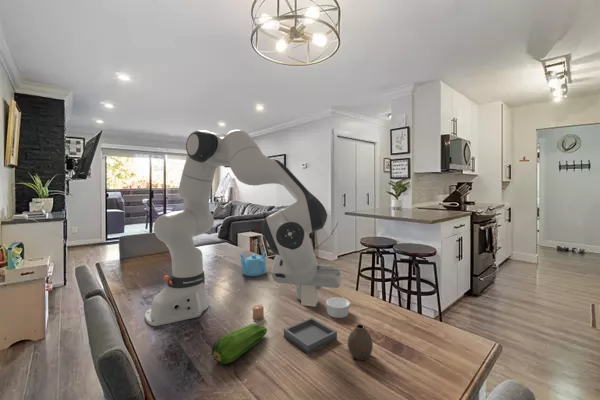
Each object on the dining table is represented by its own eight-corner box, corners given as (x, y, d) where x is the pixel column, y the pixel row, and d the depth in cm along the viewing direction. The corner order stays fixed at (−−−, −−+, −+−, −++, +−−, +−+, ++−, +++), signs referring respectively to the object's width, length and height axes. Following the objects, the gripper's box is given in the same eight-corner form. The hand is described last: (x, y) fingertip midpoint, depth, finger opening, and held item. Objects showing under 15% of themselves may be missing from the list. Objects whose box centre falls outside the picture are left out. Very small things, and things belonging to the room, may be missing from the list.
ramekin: (351, 309, 110) (351, 298, 109) (347, 320, 101) (347, 309, 101) (329, 306, 112) (328, 296, 112) (323, 317, 104) (323, 305, 104)
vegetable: (210, 336, 77) (261, 309, 93) (203, 354, 79) (254, 325, 95) (227, 356, 73) (277, 324, 89) (219, 375, 75) (269, 341, 92)
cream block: (315, 306, 87) (315, 277, 86) (301, 305, 88) (300, 276, 87) (318, 300, 91) (318, 273, 90) (304, 299, 92) (304, 271, 92)
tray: (307, 354, 82) (307, 345, 82) (283, 336, 91) (283, 329, 91) (336, 339, 89) (336, 331, 89) (311, 324, 99) (311, 317, 99)
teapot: (268, 277, 147) (268, 257, 146) (239, 279, 144) (238, 259, 143) (266, 268, 161) (266, 250, 160) (239, 270, 158) (239, 252, 157)
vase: (345, 349, 84) (345, 320, 83) (367, 348, 85) (368, 319, 84) (351, 364, 77) (351, 333, 77) (376, 363, 78) (376, 332, 77)
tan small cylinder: (256, 321, 101) (256, 310, 101) (250, 317, 104) (250, 307, 104) (265, 318, 103) (265, 307, 103) (260, 314, 106) (259, 303, 106)
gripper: (340, 258, 79) (344, 280, 89) (271, 253, 84) (282, 275, 94) (338, 279, 75) (342, 299, 85) (265, 273, 80) (277, 293, 90)
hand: (310, 286), depth 90 cm, fingers closed on cream block, 4 cm apart
